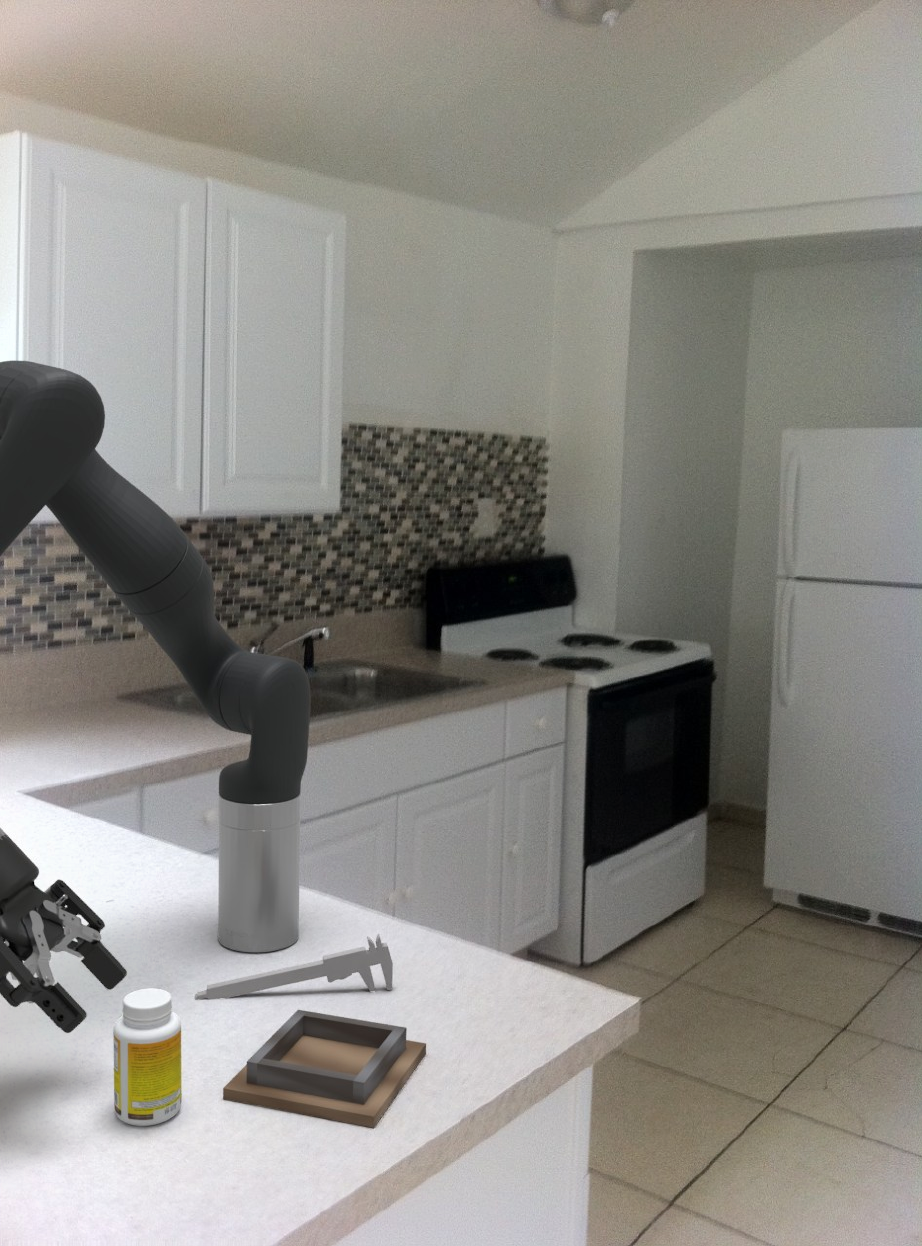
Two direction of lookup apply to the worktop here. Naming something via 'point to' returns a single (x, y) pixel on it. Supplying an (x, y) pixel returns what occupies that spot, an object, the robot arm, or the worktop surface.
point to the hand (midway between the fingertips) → (99, 1002)
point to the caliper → (311, 972)
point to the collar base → (329, 1068)
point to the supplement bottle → (147, 1059)
